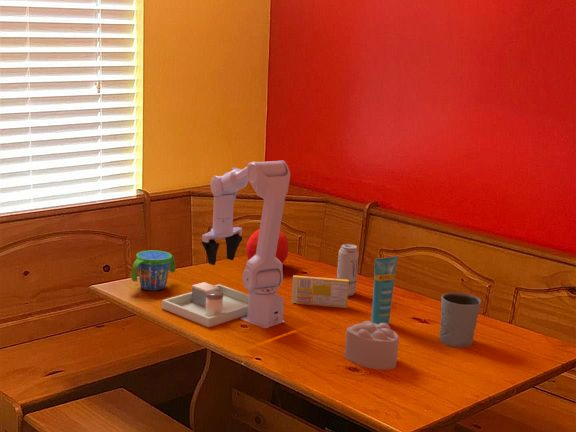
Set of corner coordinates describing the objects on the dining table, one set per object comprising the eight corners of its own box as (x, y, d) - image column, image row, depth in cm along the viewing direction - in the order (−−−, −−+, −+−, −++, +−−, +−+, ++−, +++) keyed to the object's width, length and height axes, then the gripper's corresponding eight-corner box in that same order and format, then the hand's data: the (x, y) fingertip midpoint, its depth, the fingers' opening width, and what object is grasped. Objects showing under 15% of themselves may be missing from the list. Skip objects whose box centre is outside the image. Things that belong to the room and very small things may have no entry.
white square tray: (265, 310, 235) (265, 300, 234) (208, 329, 219) (208, 318, 218) (218, 293, 247) (219, 284, 246) (161, 310, 230) (162, 300, 230)
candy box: (347, 306, 243) (349, 279, 241) (346, 308, 241) (349, 281, 239) (291, 301, 244) (293, 274, 242) (291, 303, 242) (292, 276, 240)
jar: (225, 317, 226) (226, 294, 224) (213, 322, 222) (214, 297, 221) (213, 313, 229) (214, 289, 227) (201, 317, 225) (202, 293, 224)
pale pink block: (218, 304, 236) (218, 287, 235) (206, 307, 233) (206, 290, 232) (203, 298, 240) (203, 282, 239) (191, 302, 237) (192, 285, 235)
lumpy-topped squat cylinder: (366, 346, 214) (369, 314, 212) (406, 363, 205) (409, 330, 203) (339, 356, 207) (341, 323, 205) (379, 374, 198) (382, 339, 196)
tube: (375, 328, 226) (381, 260, 222) (364, 322, 230) (369, 256, 226) (396, 324, 230) (402, 257, 226) (385, 318, 234) (390, 253, 230)
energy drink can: (349, 298, 250) (353, 250, 246) (332, 293, 253) (335, 246, 249) (358, 293, 255) (362, 246, 251) (341, 289, 258) (345, 242, 254)
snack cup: (164, 278, 258) (165, 246, 256) (185, 287, 251) (186, 255, 248) (121, 287, 247) (121, 254, 245) (141, 297, 240) (141, 263, 238)
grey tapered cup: (429, 338, 221) (433, 296, 218) (453, 331, 228) (458, 289, 225) (459, 351, 214) (464, 307, 211) (483, 343, 220) (489, 300, 217)
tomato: (271, 259, 284) (273, 220, 281) (297, 270, 274) (299, 229, 271) (234, 266, 274) (236, 225, 271) (260, 277, 264) (262, 235, 261)
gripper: (230, 210, 249) (228, 254, 252) (195, 217, 238) (193, 263, 241) (247, 215, 244) (245, 259, 248) (212, 222, 233) (210, 268, 237)
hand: (221, 261), depth 244 cm, fingers open, 7 cm apart
